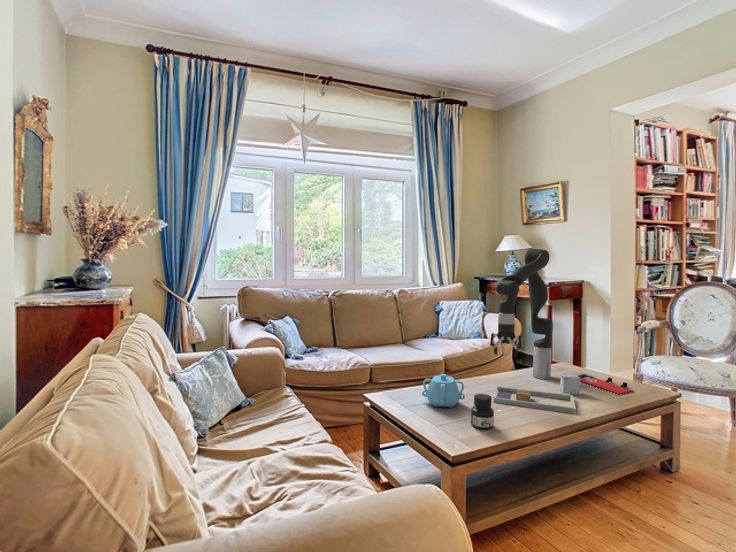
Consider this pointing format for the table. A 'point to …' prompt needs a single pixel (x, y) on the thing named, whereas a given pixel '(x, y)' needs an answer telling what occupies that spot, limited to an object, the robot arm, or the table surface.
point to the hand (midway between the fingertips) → (505, 355)
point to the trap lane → (505, 394)
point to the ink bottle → (482, 412)
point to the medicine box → (570, 384)
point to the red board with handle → (605, 384)
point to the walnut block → (523, 395)
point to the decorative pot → (443, 391)
